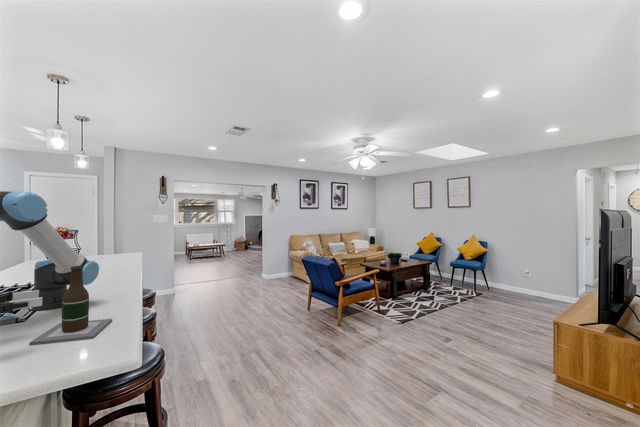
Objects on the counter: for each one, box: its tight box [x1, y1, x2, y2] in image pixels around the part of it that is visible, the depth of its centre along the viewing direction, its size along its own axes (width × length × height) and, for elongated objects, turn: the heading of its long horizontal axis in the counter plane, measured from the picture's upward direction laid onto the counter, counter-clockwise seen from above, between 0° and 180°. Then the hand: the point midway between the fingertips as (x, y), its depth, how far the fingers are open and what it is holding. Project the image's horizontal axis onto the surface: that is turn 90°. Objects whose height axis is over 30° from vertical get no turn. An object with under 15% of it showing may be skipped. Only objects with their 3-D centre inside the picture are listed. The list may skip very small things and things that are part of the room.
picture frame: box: [28, 318, 113, 346], centre depth 106 cm, size 18×18×1 cm
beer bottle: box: [61, 266, 90, 333], centre depth 106 cm, size 8×8×24 cm
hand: (40, 297), depth 99 cm, fingers open, 13 cm apart
